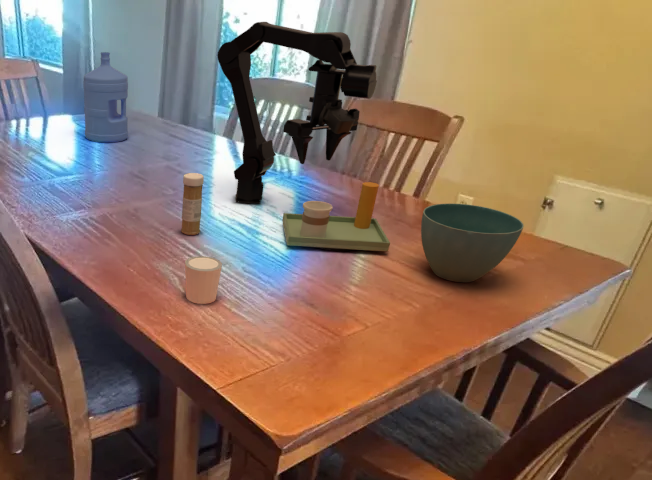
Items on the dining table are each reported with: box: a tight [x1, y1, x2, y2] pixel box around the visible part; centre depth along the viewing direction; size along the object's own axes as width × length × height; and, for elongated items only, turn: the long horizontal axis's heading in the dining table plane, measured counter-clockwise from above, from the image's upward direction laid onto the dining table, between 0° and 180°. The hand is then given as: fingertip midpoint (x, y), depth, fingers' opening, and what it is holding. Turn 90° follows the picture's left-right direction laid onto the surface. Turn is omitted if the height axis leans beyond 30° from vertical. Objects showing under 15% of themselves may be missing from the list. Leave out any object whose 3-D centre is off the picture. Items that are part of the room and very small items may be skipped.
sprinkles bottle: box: [180, 172, 205, 236], centre depth 141 cm, size 5×5×14 cm
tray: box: [281, 181, 391, 252], centre depth 139 cm, size 22×16×11 cm
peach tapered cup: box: [184, 255, 223, 305], centre depth 114 cm, size 7×7×7 cm
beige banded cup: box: [300, 200, 333, 238], centre depth 138 cm, size 6×6×7 cm
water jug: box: [82, 51, 129, 143], centre depth 216 cm, size 16×16×28 cm
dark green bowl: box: [420, 202, 525, 283], centre depth 124 cm, size 18×18×12 cm
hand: (315, 161), depth 151 cm, fingers open, 8 cm apart
